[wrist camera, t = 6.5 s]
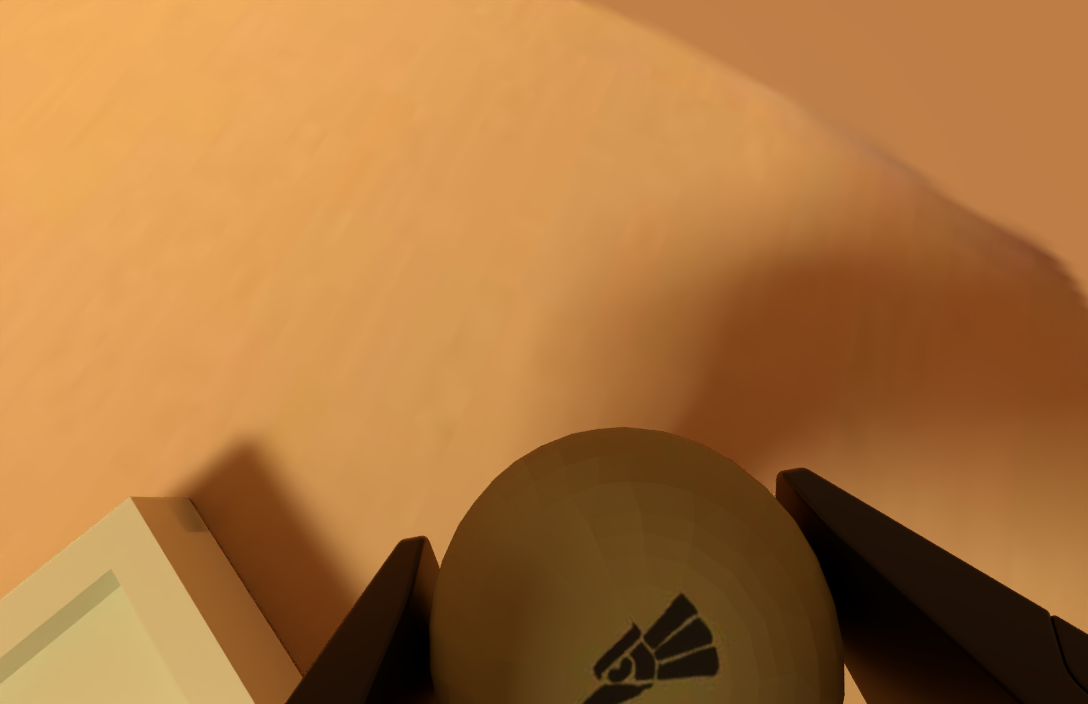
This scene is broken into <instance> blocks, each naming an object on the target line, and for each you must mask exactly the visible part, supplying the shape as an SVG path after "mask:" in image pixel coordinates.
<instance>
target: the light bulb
mask: <svg viewBox="0 0 1088 704" xmlns="http://www.w3.org/2000/svg"><path fill="white" fill-rule="evenodd" d="M429 635H430V671H431V676H432V682H433V687H434V692H435V697H436V702H437V704H843V701H844V695H845V693H844V647H843V642H842V637H841V632H840V627H839V622H838V617H837V612H836V607H835V603H834V600H833V597H832V594H831V592H830V589H829V587H828V584H827V581H826V579H825V576H824V574H823V571H822V569H821V566H820V564H819V561H818V558H817V556H816V554H815V553H814V551H813V550H812V548H811V546H810V545H809V543H808V541H807V540H806V538H805V536H804V535H803V533H802V531H801V530H800V528H799V527H798V525H797V523H796V522H795V520H794V519H793V518H792V516H791V515H790V514H789V513H788V512H787V511H786V510H785V509H784V507H783V506H782V505H781V504H780V503H779V502H778V501H777V499H776V498H775V497H774V496H773V495H772V494H771V493H770V492H769V490H768V489H767V488H766V487H765V486H764V485H762V484H761V483H760V482H758V481H757V480H756V479H755V478H753V477H752V476H751V475H750V474H748V473H747V472H746V471H745V470H743V469H742V468H741V467H740V466H738V465H737V464H736V463H735V462H733V461H732V460H730V459H728V458H726V457H724V456H722V455H721V454H719V453H717V452H715V451H713V450H711V449H709V448H707V447H706V446H704V445H702V444H700V443H698V442H695V441H692V440H688V439H685V438H682V437H679V436H676V435H672V434H669V433H666V432H663V431H655V430H646V429H637V428H628V427H619V428H607V429H596V430H591V431H585V432H580V433H575V434H571V435H568V436H565V437H563V438H560V439H558V440H555V441H553V442H550V443H548V444H545V445H543V446H540V447H539V448H537V449H535V450H534V451H532V452H530V453H529V454H527V455H525V456H523V457H522V458H520V459H518V460H517V461H515V462H514V463H513V464H512V465H510V466H509V467H508V468H507V469H506V470H504V471H503V472H502V473H501V474H500V475H498V476H497V477H496V478H495V479H494V480H493V481H492V482H491V484H490V485H489V486H488V487H487V488H486V489H485V491H484V492H483V493H482V494H481V495H480V496H479V498H478V499H477V500H476V501H475V502H474V503H473V505H472V506H471V508H470V509H469V511H468V512H467V514H466V515H465V516H464V518H463V519H462V521H461V522H460V524H459V525H458V527H457V530H456V532H455V534H454V536H453V538H452V540H451V542H450V545H449V547H448V549H447V551H446V554H445V556H444V558H443V560H442V564H441V567H440V571H439V574H438V578H437V582H436V585H435V589H434V593H433V601H432V608H431V615H430V624H429Z"/></svg>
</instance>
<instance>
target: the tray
mask: <svg viewBox="0 0 1088 704" xmlns="http://www.w3.org/2000/svg"><path fill="white" fill-rule="evenodd" d="M302 678H303V677H302V676H301V674H300V673H299V671H298V669H297V668H296V666H295V665H294V663H293V662H292V660H291V658H290V657H289V655H288V654H287V652H286V651H285V649H284V647H283V646H282V644H281V643H280V641H279V640H278V638H277V636H276V635H275V633H274V632H273V630H272V628H271V627H270V625H269V624H268V622H267V621H266V619H265V617H264V616H263V614H262V613H261V611H260V610H259V608H258V606H257V605H256V603H255V602H254V600H253V599H252V597H251V595H250V594H249V592H248V591H247V589H246V588H245V586H244V584H243V583H242V581H241V580H240V578H239V577H238V575H237V573H236V572H235V570H234V569H233V567H232V566H231V564H230V562H229V561H228V559H227V558H226V556H225V555H224V553H223V551H222V550H221V548H220V547H219V545H218V544H217V542H216V540H215V539H214V537H213V536H212V534H211V533H210V531H209V529H208V528H207V526H206V525H205V523H204V521H203V520H202V518H201V517H200V515H199V514H198V512H197V510H196V509H195V507H194V506H193V504H192V503H191V501H190V499H189V498H161V497H129V498H128V499H126V500H125V501H124V502H122V503H121V504H120V505H119V506H117V507H116V508H115V509H114V510H112V511H111V512H110V513H109V514H107V515H106V516H105V517H104V518H102V519H101V520H100V521H98V522H97V523H96V524H95V525H93V526H92V527H91V528H90V529H88V530H87V531H86V532H85V533H83V534H82V535H81V536H80V537H78V538H77V539H76V540H74V541H73V542H72V543H71V544H69V545H68V546H67V547H66V548H64V549H63V550H62V551H61V552H59V553H58V554H57V555H56V556H54V557H53V558H52V559H51V560H49V561H48V562H47V563H45V564H44V565H43V566H42V567H40V568H39V569H38V570H37V571H35V572H34V573H33V574H32V575H30V576H29V577H28V578H27V579H25V580H24V581H23V582H21V583H20V584H19V585H18V586H16V587H15V588H14V589H13V590H11V591H10V592H9V593H8V594H6V595H5V596H4V597H3V598H1V599H0V704H284V703H285V702H286V701H287V699H288V698H289V696H290V695H291V694H292V692H293V691H294V689H295V688H296V686H297V685H298V684H299V682H300V681H301V679H302Z"/></svg>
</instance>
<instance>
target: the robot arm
mask: <svg viewBox="0 0 1088 704" xmlns="http://www.w3.org/2000/svg"><path fill="white" fill-rule="evenodd" d="M776 499H777V501H778V502H779V503H780V504H781V505H782V506H783V507H784V509H785V510H786V511H787V512H788V513H789V514H790V515H791V516H792V518H793V519H794V520H795V522H796V523H797V525H798V527H799V528H800V530H801V531H802V533H803V535H804V536H805V538H806V540H807V541H808V543H809V545H810V546H811V548H812V550H813V551H814V553H815V554H816V556H817V558H818V561H819V564H820V566H821V569H822V571H823V574H824V576H825V579H826V581H827V584H828V587H829V589H830V592H831V594H832V597H833V600H834V603H835V607H836V612H837V617H838V622H839V627H840V632H841V637H842V642H843V647H844V663H845V665H846V667H847V669H848V671H849V672H850V674H851V676H852V678H853V680H854V681H855V683H856V685H857V687H858V688H859V690H860V692H861V694H862V696H863V697H864V699H865V701H866V703H867V704H1088V634H1087V633H1085V632H1083V631H1082V630H1080V629H1078V628H1076V627H1075V626H1073V625H1071V624H1070V623H1068V622H1066V621H1065V620H1063V619H1061V618H1060V617H1058V616H1055V615H1053V616H1050V613H1049V612H1048V611H1047V610H1046V609H1044V608H1042V607H1041V606H1039V605H1037V604H1035V603H1034V602H1032V601H1030V600H1029V599H1027V598H1025V597H1024V596H1022V595H1020V594H1018V593H1017V592H1015V591H1013V590H1012V589H1010V588H1008V587H1007V586H1005V585H1003V584H1002V583H1000V582H998V581H996V580H995V579H993V578H991V577H990V576H988V575H986V574H985V573H983V572H981V571H980V570H978V569H976V568H974V567H973V566H971V565H969V564H968V563H966V562H964V561H963V560H961V559H959V558H958V557H956V556H954V555H952V554H951V553H949V552H947V551H946V550H944V549H942V548H941V547H939V546H937V545H936V544H934V543H932V542H930V541H929V540H927V539H925V538H924V537H922V536H920V535H919V534H917V533H915V532H913V531H912V530H910V529H908V528H907V527H905V526H903V525H902V524H900V523H898V522H897V521H895V520H893V519H891V518H890V517H888V516H886V515H885V514H883V513H881V512H880V511H878V510H876V509H875V508H873V507H871V506H869V505H868V504H866V503H864V502H863V501H861V500H859V499H858V498H856V497H854V496H853V495H851V494H849V493H847V492H846V491H844V490H842V489H841V488H839V487H837V486H836V485H834V484H832V483H831V482H829V481H827V480H825V479H824V478H822V477H820V476H819V475H817V474H815V473H814V472H812V471H810V470H808V469H806V468H796V469H790V470H784V471H781V472H779V473H778V475H777V479H776ZM439 571H440V568H439V565H438V562H437V560H436V557H435V555H434V552H433V549H432V547H431V544H430V542H429V540H428V538H427V537H425V536H418V537H412V538H407V539H403V540H401V541H400V542H399V543H398V544H397V545H396V547H395V548H394V550H393V551H392V552H391V554H390V555H389V557H388V558H387V560H386V561H385V562H384V564H383V565H382V567H381V568H380V569H379V571H378V572H377V574H376V575H375V576H374V578H373V579H372V581H371V582H370V584H369V585H368V586H367V588H366V589H365V591H364V592H363V593H362V595H361V596H360V598H359V599H358V600H357V602H356V603H355V605H354V606H353V607H352V609H351V610H350V612H349V613H348V615H347V616H346V617H345V619H344V620H343V622H342V623H341V624H340V626H339V627H338V629H337V630H336V631H335V633H334V634H333V636H332V637H331V639H330V640H329V641H328V643H327V644H326V646H325V647H324V648H323V650H322V651H321V653H320V654H319V655H318V657H317V658H316V660H315V661H314V663H313V664H312V665H311V667H310V668H309V670H308V671H307V672H306V674H305V675H304V677H303V678H302V679H301V681H300V682H299V684H298V685H297V686H296V688H295V689H294V691H293V692H292V694H291V695H290V696H289V698H288V699H287V701H286V702H285V703H284V704H437V702H436V697H435V692H434V687H433V682H432V676H431V671H430V635H429V624H430V615H431V608H432V601H433V593H434V589H435V585H436V582H437V578H438V574H439Z"/></svg>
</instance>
